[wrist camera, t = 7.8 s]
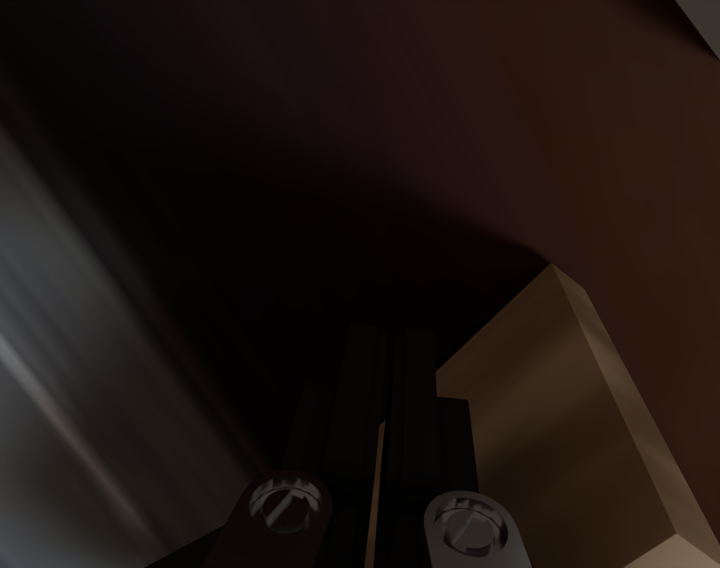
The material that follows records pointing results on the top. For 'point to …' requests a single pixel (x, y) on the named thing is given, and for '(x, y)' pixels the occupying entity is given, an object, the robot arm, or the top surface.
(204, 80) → the top surface
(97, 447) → the top surface
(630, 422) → the door
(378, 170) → the top surface
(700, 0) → the white stepped block
